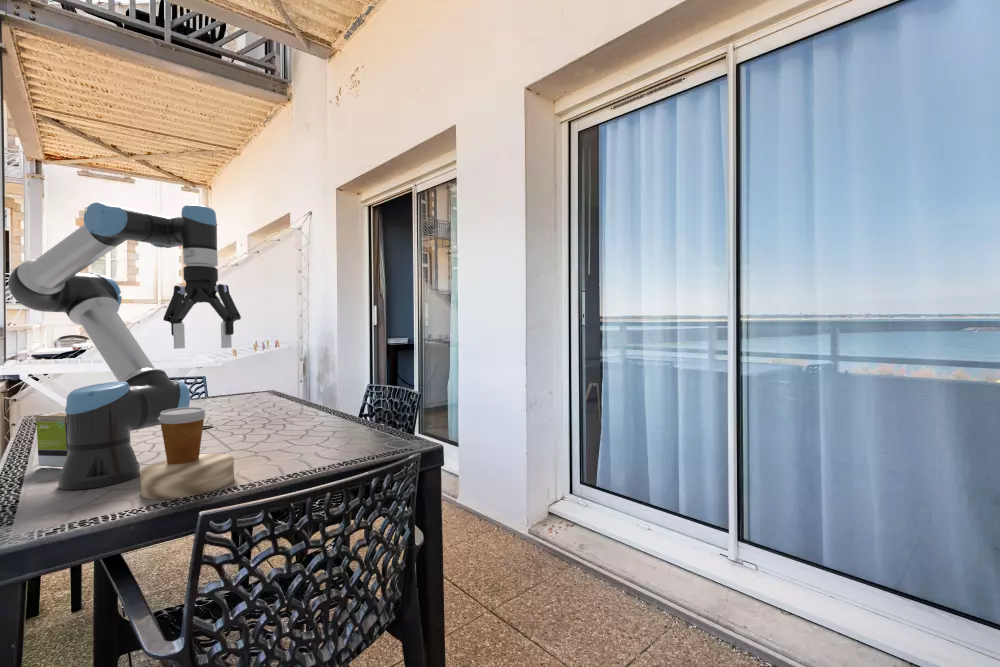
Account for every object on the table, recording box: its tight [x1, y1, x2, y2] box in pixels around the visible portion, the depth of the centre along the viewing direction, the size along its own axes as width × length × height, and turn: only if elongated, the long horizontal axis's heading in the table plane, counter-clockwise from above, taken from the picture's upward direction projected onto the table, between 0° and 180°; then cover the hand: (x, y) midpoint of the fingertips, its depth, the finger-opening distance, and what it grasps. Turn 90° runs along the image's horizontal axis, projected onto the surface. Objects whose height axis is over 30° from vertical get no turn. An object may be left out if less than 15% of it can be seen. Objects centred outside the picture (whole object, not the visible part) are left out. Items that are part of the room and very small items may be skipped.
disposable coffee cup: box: [158, 406, 207, 464], centre depth 110 cm, size 10×10×12 cm
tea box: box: [35, 410, 68, 467], centre depth 130 cm, size 15×10×15 cm
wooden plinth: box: [139, 453, 235, 501], centre depth 107 cm, size 18×18×5 cm
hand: (202, 348), depth 120 cm, fingers open, 13 cm apart
